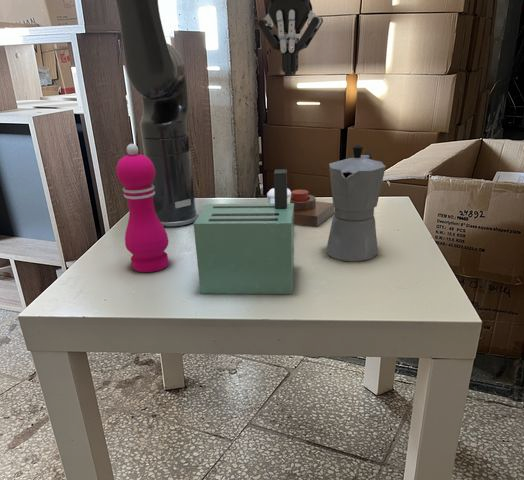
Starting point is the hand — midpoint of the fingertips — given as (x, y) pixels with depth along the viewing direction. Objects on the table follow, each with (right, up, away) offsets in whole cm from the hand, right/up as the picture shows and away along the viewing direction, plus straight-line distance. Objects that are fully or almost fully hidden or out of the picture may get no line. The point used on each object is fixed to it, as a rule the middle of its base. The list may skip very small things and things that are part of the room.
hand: (290, 74), depth 102 cm
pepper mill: (-25, -40, -12) cm, 48 cm away
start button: (+2, -22, +8) cm, 24 cm away
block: (+3, -26, +9) cm, 27 cm away
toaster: (-7, -43, -19) cm, 48 cm away
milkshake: (-2, -32, 0) cm, 32 cm away
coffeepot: (+11, -36, -9) cm, 39 cm away
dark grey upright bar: (-3, -32, -22) cm, 39 cm away
